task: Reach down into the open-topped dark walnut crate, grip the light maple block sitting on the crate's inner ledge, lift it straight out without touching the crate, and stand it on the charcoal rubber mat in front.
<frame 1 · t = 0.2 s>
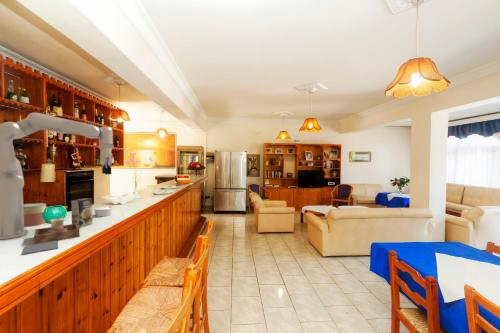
hand: (106, 173, 157), 31 cm above the worktop, fingers open, 9 cm apart
crate: (57, 236, 130), on the worktop
ramekin: (103, 215, 177), on the worktop
canned food: (35, 224, 154), on the worktop
mat: (41, 247, 115), on the worktop
maple block: (57, 231, 130), point 3 cm above the worktop, touching crate
coffee box: (82, 225, 151), on the worktop
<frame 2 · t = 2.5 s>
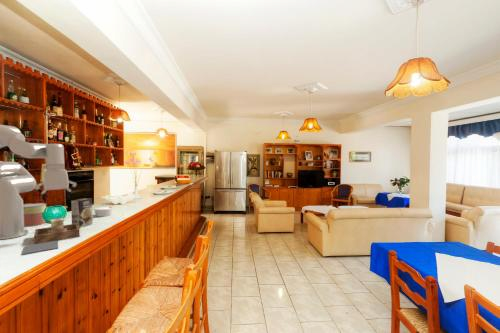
hand: (57, 200, 129), 19 cm above the worktop, fingers open, 9 cm apart
nothing on the worktop moved.
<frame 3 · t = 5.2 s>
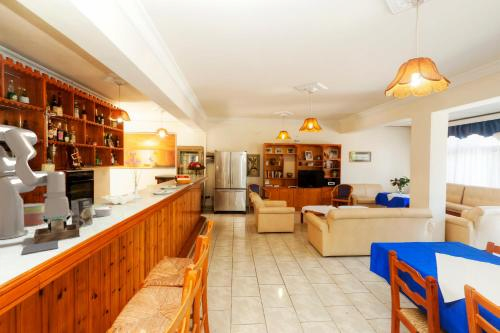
hand: (57, 229, 130), 4 cm above the worktop, fingers closed on maple block, 5 cm apart
maple block: (57, 231, 130), point 3 cm above the worktop, touching crate, gripper
everything else where it was.
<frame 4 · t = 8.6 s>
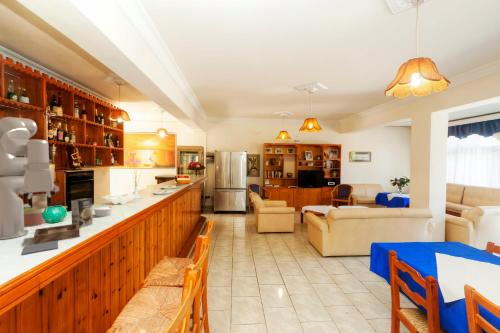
hand: (40, 206, 114), 19 cm above the worktop, fingers closed on maple block, 5 cm apart
maple block: (40, 208, 114), point 19 cm above the worktop, touching gripper
everything else where it was.
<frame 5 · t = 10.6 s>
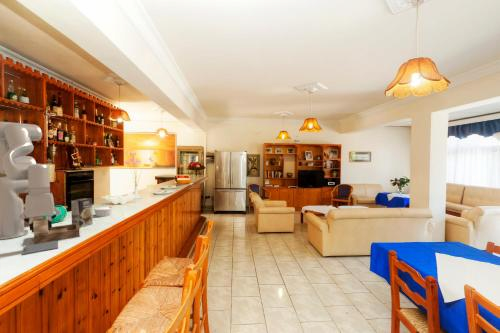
hand: (41, 230, 114), 8 cm above the worktop, fingers closed on maple block, 5 cm apart
maple block: (41, 232, 114), point 7 cm above the worktop, touching gripper
everything else where it was.
when the fingers open (3 cm above the worktop, at t = 12.1 s): maple block drops 1 cm, resting on mat.
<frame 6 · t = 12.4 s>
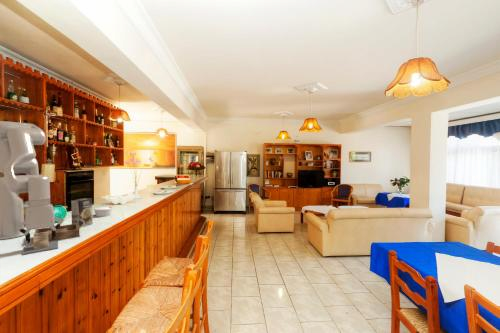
hand: (41, 240, 114), 3 cm above the worktop, fingers open, 8 cm apart
maple block: (41, 246, 115), resting on mat
everything else where it was.
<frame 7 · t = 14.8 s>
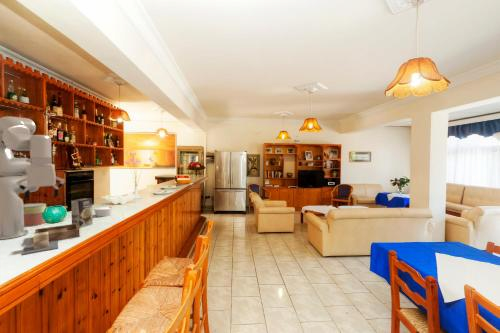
hand: (42, 198, 115), 23 cm above the worktop, fingers open, 9 cm apart
nothing on the worktop moved.
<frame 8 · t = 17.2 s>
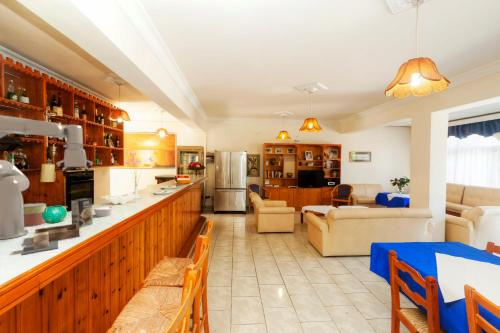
hand: (75, 177, 141), 30 cm above the worktop, fingers open, 9 cm apart
nothing on the worktop moved.
at the end: maple block inside the target area on the mat (0.0 cm from its centre), point 0.5 cm above the mat's base; maple block tilted 0°; maple block touching mat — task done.
